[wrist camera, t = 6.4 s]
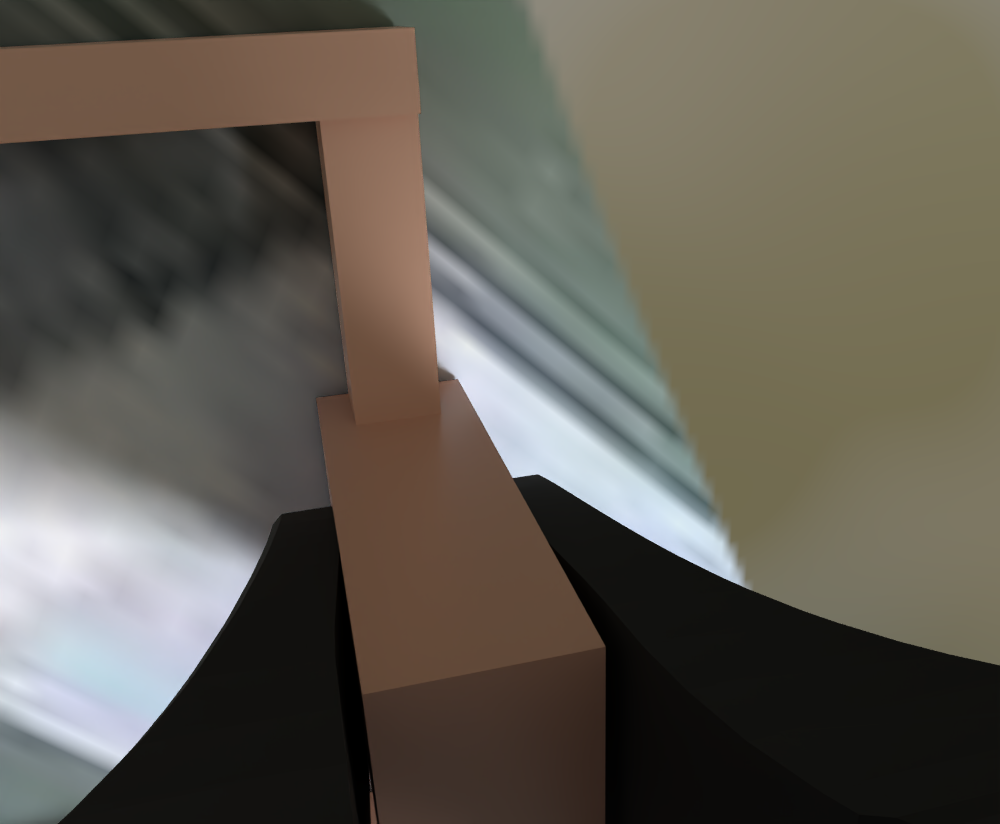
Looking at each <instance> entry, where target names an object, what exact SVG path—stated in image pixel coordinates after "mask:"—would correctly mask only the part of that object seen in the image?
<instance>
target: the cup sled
mask: <svg viewBox="0 0 1000 824" xmlns="http://www.w3.org/2000/svg"><path fill="white" fill-rule="evenodd" d="M418 114H421V108H420V95H419V82H418V68H417V55H416V42H415V29H414V28H413V27H400V26H394V27H375V28H356V29H337V30H317V31H298V32H279V33H260V34H241V35H222V36H203V37H184V38H164V39H145V40H126V41H107V42H88V43H69V44H50V45H31V46H12V47H0V144H3V143H17V142H31V141H45V140H59V139H73V138H87V137H100V136H114V135H128V134H142V133H156V132H170V131H184V130H198V129H212V128H226V127H240V126H254V125H268V124H282V123H296V122H310V121H315V122H316V130H317V138H318V147H319V155H320V163H321V172H322V180H323V188H324V196H325V205H326V213H327V221H328V229H329V238H330V246H331V254H332V263H333V271H334V279H335V287H336V296H337V304H338V312H339V320H340V329H341V337H342V345H343V353H344V362H345V370H346V378H347V387H348V394H341V395H333V396H326V397H318V398H316V401H317V408H318V415H319V423H320V430H321V437H322V445H323V452H324V459H325V467H326V474H327V481H328V489H329V496H330V503H331V506H332V509H333V515H334V521H335V527H336V533H337V539H338V545H339V552H340V559H341V567H342V574H343V581H344V589H345V596H346V604H347V611H348V618H349V626H350V633H351V641H352V648H353V655H354V663H355V670H356V677H357V685H358V692H359V700H360V707H361V714H362V722H363V729H364V736H365V744H366V751H367V759H368V766H369V774H370V781H371V788H372V792H370V808H371V824H605V711H606V646H605V645H604V643H603V641H602V639H601V637H600V636H599V634H598V632H597V630H596V628H595V627H594V625H593V623H592V621H591V619H590V617H589V616H588V614H587V612H586V610H585V608H584V607H583V605H582V603H581V601H580V599H579V598H578V596H577V594H576V592H575V590H574V589H573V587H572V585H571V583H570V581H569V579H568V578H567V576H566V574H565V572H564V570H563V569H562V567H561V565H560V563H559V561H558V560H557V558H556V556H555V554H554V552H553V551H552V549H551V547H550V545H549V543H548V541H547V540H546V538H545V536H544V534H543V532H542V531H541V529H540V527H539V525H538V523H537V522H536V520H535V518H534V516H533V514H532V513H531V511H530V509H529V507H528V505H527V504H526V502H525V500H524V498H523V496H522V494H521V493H520V491H519V489H518V487H517V485H516V484H515V482H514V480H513V478H512V476H511V475H510V473H509V471H508V469H507V467H506V466H505V464H504V462H503V460H502V458H501V456H500V455H499V453H498V451H497V449H496V447H495V446H494V444H493V442H492V440H491V438H490V437H489V435H488V433H487V431H486V429H485V428H484V426H483V424H482V422H481V420H480V418H479V417H478V415H477V413H476V411H475V409H474V408H473V406H472V404H471V402H470V400H469V399H468V397H467V395H466V393H465V391H464V390H463V388H462V386H461V384H460V382H459V380H458V379H455V380H448V381H440V382H439V380H438V367H437V354H436V341H435V328H434V315H433V302H432V289H431V276H430V263H429V250H428V237H427V224H426V211H425V198H424V185H423V172H422V159H421V146H420V134H419V121H418Z"/></svg>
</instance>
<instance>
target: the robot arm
mask: <svg viewBox="0 0 1000 824" xmlns="http://www.w3.org/2000/svg"><path fill="white" fill-rule="evenodd" d="M513 480H514V482H515V484H516V485H517V487H518V489H519V491H520V493H521V494H522V496H523V498H524V500H525V502H526V504H527V505H528V507H529V509H530V511H531V513H532V514H533V516H534V518H535V520H536V522H537V523H538V525H539V527H540V529H541V531H542V532H543V534H544V536H545V538H546V540H547V541H548V543H549V545H550V547H551V549H552V551H553V552H554V554H555V556H556V558H557V560H558V561H559V563H560V565H561V567H562V569H563V570H564V572H565V574H566V576H567V578H568V579H569V581H570V583H571V585H572V587H573V589H574V590H575V592H576V594H577V596H578V598H579V599H580V601H581V603H582V605H583V607H584V608H585V610H586V612H587V614H588V616H589V617H590V619H591V621H592V623H593V625H594V627H595V628H596V630H597V632H598V634H599V636H600V637H601V639H602V641H603V643H604V645H605V646H606V711H605V824H1000V665H995V664H991V663H986V662H981V661H977V660H972V659H968V658H963V657H958V656H954V655H949V654H946V653H942V652H938V651H934V650H930V649H926V648H922V647H918V646H914V645H911V644H907V643H903V642H899V641H896V640H893V639H889V638H885V637H883V636H879V635H876V634H873V633H869V632H866V631H863V630H860V629H856V628H853V627H850V626H846V625H843V624H839V623H837V622H834V621H831V620H828V619H825V618H822V617H819V616H816V615H813V614H810V613H808V612H805V611H802V610H799V609H797V608H794V607H792V606H789V605H787V604H784V603H782V602H779V601H777V600H774V599H772V598H769V597H766V596H764V595H761V594H759V593H756V592H754V591H751V590H749V589H746V588H744V587H742V586H740V585H737V584H735V583H733V582H731V581H728V580H726V579H724V578H722V577H720V576H718V575H716V574H714V573H711V572H709V571H707V570H705V569H703V568H701V567H699V566H697V565H695V564H693V563H691V562H689V561H687V560H685V559H683V558H681V557H679V556H677V555H675V554H673V553H672V552H670V551H668V550H666V549H664V548H662V547H660V546H659V545H657V544H655V543H653V542H651V541H650V540H648V539H646V538H644V537H642V536H641V535H639V534H637V533H635V532H634V531H632V530H630V529H629V528H627V527H625V526H623V525H622V524H620V523H618V522H617V521H615V520H613V519H612V518H610V517H608V516H607V515H605V514H603V513H602V512H600V511H598V510H597V509H595V508H594V507H592V506H590V505H589V504H587V503H585V502H584V501H582V500H581V499H579V498H577V497H576V496H574V495H573V494H571V493H569V492H568V491H566V490H564V489H563V488H561V487H560V486H558V485H556V484H555V483H553V482H551V481H549V480H548V479H546V478H544V477H542V476H540V475H538V474H537V475H531V476H524V477H518V478H513ZM58 824H371V808H370V784H369V766H368V759H367V751H366V744H365V736H364V729H363V722H362V714H361V707H360V700H359V692H358V685H357V677H356V670H355V663H354V655H353V648H352V641H351V633H350V626H349V618H348V611H347V604H346V596H345V589H344V581H343V574H342V567H341V559H340V552H339V545H338V539H337V533H336V527H335V521H334V515H333V509H332V506H330V507H324V508H318V509H311V510H305V511H298V512H292V513H285V514H282V515H281V516H280V517H279V518H278V519H277V520H276V522H275V523H274V524H273V526H272V530H271V533H270V536H269V538H268V541H267V543H266V546H265V548H264V550H263V553H262V555H261V557H260V559H259V561H258V563H257V565H256V567H255V569H254V571H253V574H252V576H251V578H250V580H249V581H248V583H247V585H246V587H245V589H244V590H243V592H242V594H241V596H240V598H239V599H238V601H237V603H236V605H235V607H234V608H233V610H232V612H231V614H230V616H229V617H228V619H227V621H226V622H225V624H224V626H223V627H222V629H221V630H220V632H219V633H218V635H217V636H216V638H215V639H214V641H213V642H212V644H211V646H210V647H209V649H208V650H207V652H206V653H205V655H204V656H203V658H202V659H201V661H200V662H199V664H198V665H197V667H196V668H195V670H194V671H193V673H192V674H191V676H190V677H189V678H188V680H187V681H186V682H185V684H184V685H183V686H182V688H181V689H180V691H179V692H178V693H177V695H176V696H175V697H174V698H173V700H172V701H171V702H170V704H169V705H168V706H167V708H166V709H165V710H164V711H163V713H162V714H161V715H160V716H159V717H158V719H157V720H156V721H155V722H154V723H153V725H152V726H151V727H150V728H149V730H148V731H147V732H146V733H145V734H144V736H143V737H142V738H141V739H140V740H139V741H138V743H137V744H136V745H135V746H134V747H133V748H132V749H131V750H130V751H129V753H128V754H127V755H126V756H125V757H124V758H123V759H122V760H121V761H120V762H119V763H118V764H117V765H116V766H115V767H114V768H113V769H112V770H111V771H110V772H109V774H108V775H107V776H106V777H105V778H104V779H103V780H102V781H101V782H100V783H99V784H98V785H97V786H96V787H95V788H94V789H93V790H92V791H91V792H90V793H89V794H88V795H87V796H86V797H85V798H84V799H83V800H82V801H81V802H80V803H79V804H78V805H77V806H76V807H75V808H74V809H73V810H72V811H71V812H70V813H69V814H68V815H67V816H66V817H65V818H64V819H63V820H62V821H60V822H59V823H58Z"/></svg>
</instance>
